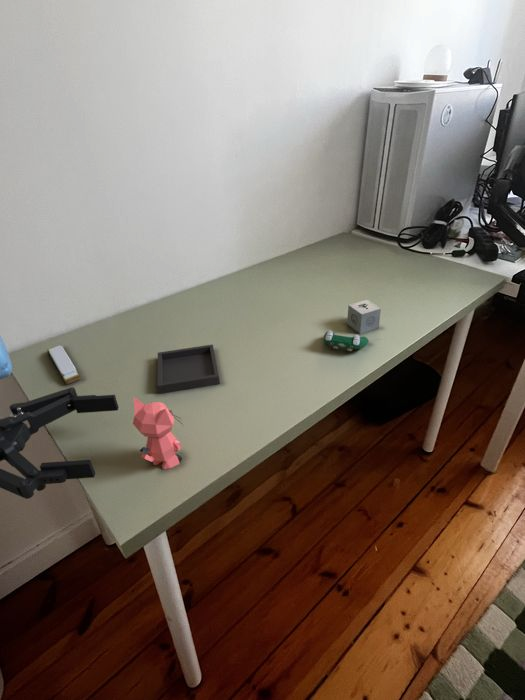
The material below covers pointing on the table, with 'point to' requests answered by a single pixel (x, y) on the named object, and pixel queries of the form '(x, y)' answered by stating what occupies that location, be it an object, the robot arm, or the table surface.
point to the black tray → (187, 369)
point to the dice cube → (363, 316)
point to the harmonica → (63, 364)
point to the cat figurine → (157, 433)
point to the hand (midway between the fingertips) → (105, 432)
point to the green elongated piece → (345, 341)
